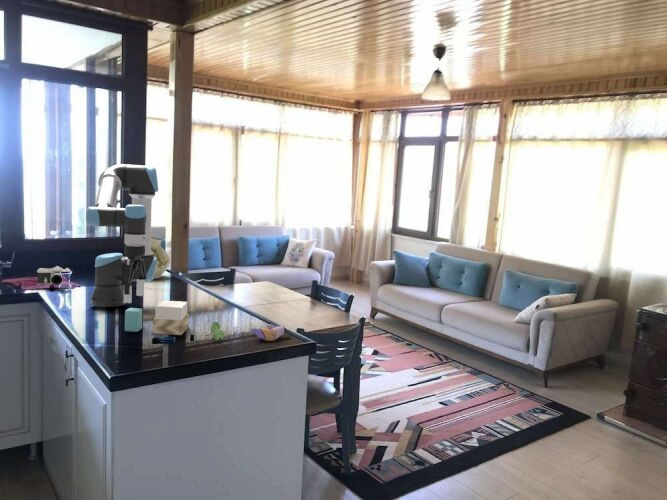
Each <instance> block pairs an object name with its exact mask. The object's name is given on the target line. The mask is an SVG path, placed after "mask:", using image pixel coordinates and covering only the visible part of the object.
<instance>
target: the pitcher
mask: <svg viewBox="0 0 667 500" xmlns="http://www.w3.org/2000/svg"><path fill="white" fill-rule="evenodd" d="M165 237H166V236H163V237H161V238H157V237H153V236H151V251H152V252H153V253H154V257H157V261H156V267H155V274H154V279H153V280H156V279H160V278H161V277H162V275H163V274H164V273H165V272H166V271H167V269H168V268H169V267H170V264H171V257H170V256H169V254H168V252H167V251H166V250H165V248H163V247H162V241H163V240H164V239H165Z"/></svg>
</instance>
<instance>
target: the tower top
mask: <svg viewBox="0 0 667 500" xmlns="http://www.w3.org/2000/svg"><path fill="white" fill-rule="evenodd" d="M154 309H155V310H154V314H155V315H154V318H155V319H166V320H182V319H183V318H184V317H185V316H186V315H187V314H188V301H181V300H180V301H179V300H177V301H176V300H161V301H160V302H159V303H158V304H156V305H155V308H154Z"/></svg>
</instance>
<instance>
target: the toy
mask: <svg viewBox="0 0 667 500" xmlns="http://www.w3.org/2000/svg"><path fill="white" fill-rule="evenodd" d="M266 326H267V327H260V328H253V327H251V328H250V331H252V332H253V333H255V335H256V336H257V337H258V338H259V339H261V340H263V341H268V342H269V341H270V342H271V341H272V342H273V341H275V340H278V339H279V338H280V337H281V336H283V335H284V334H285V333H286V332H287V329H286V328H285V326H284V325H278V326H276V325H274V324H272V323H271V324H270V323H269V324H266Z"/></svg>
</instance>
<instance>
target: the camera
mask: <svg viewBox="0 0 667 500" xmlns="http://www.w3.org/2000/svg"><path fill="white" fill-rule="evenodd" d="M36 272H37V275H36V277H37V281H36V282H37V285H38V284H54V285H55V286H59V285H61V284H60V283H61V282H62V278H61V276H60V272H71V269H70V268H68V267H66V268H65V269H63V267H60V266H59V265H56V266H55V267H54V266H53V267H52V268H51V267H50V268H49V267H48V268H46V267H44V268H43V267H42V268H41V267H40V268H38V269H37V270H36ZM71 283H72V276H71V277H70V284H71ZM54 285H53V286H54Z"/></svg>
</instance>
